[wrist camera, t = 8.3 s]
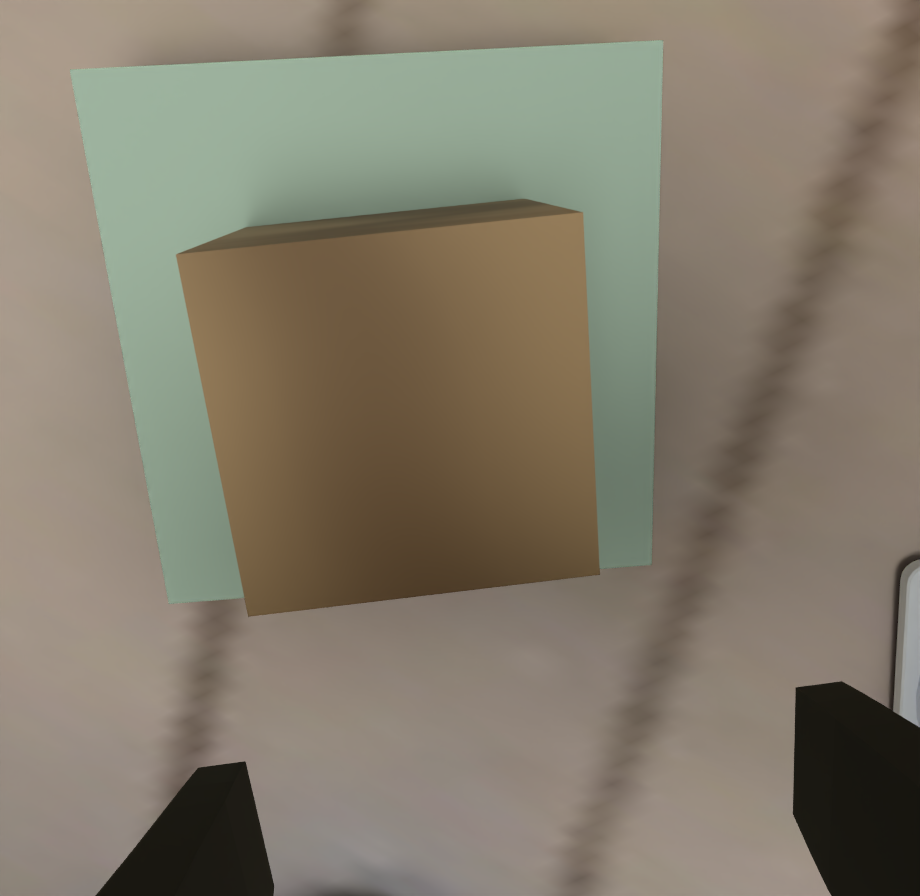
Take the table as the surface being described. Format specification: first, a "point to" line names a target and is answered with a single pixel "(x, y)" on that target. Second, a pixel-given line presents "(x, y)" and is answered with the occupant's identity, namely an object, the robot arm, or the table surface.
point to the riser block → (362, 193)
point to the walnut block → (399, 401)
